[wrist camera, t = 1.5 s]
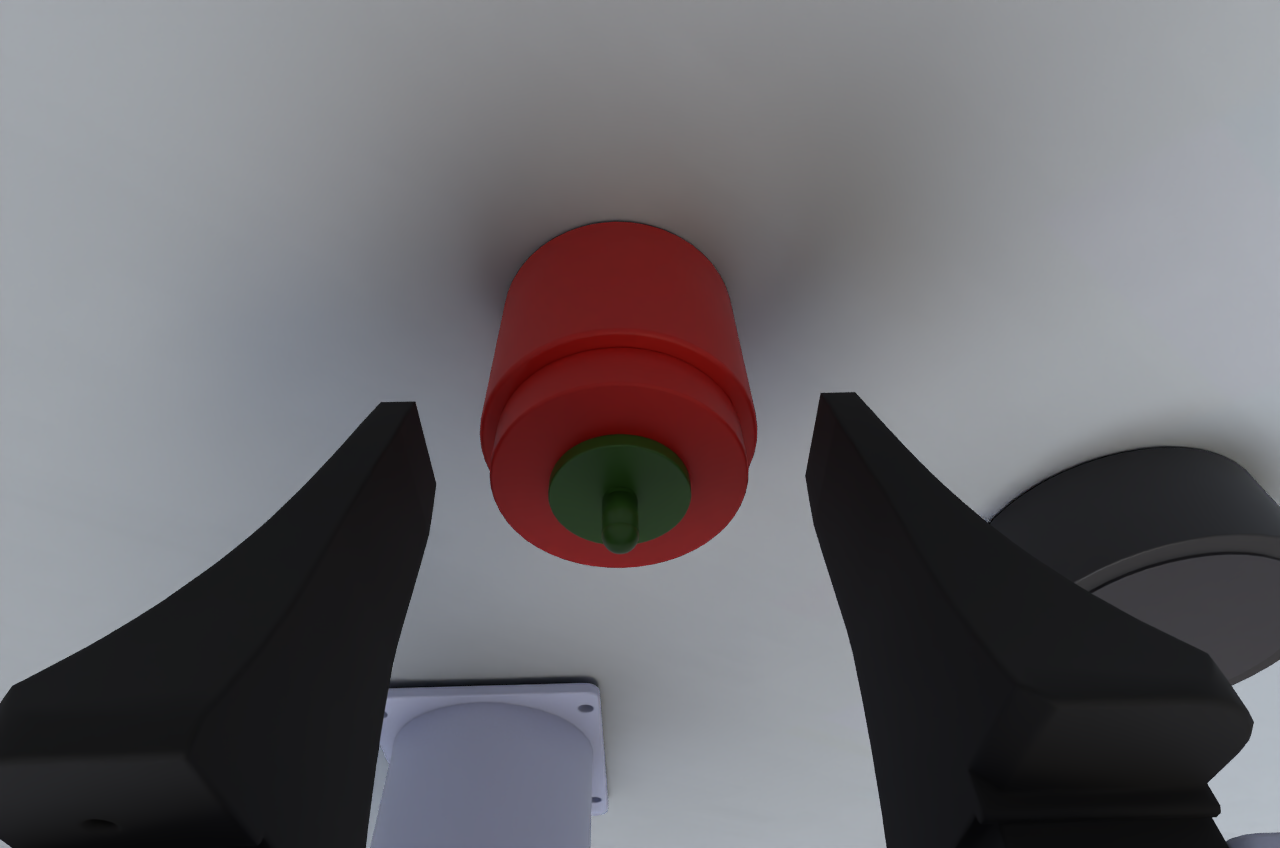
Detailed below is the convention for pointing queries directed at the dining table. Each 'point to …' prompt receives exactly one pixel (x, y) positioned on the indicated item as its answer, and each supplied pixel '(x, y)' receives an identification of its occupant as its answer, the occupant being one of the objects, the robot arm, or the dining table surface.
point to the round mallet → (1166, 547)
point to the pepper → (618, 399)
